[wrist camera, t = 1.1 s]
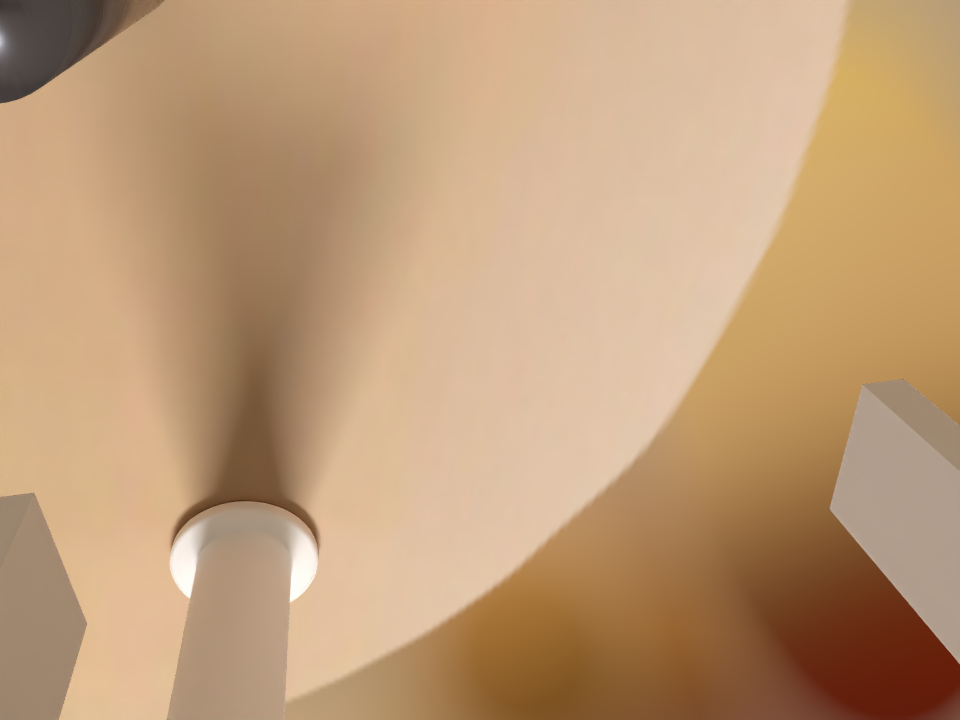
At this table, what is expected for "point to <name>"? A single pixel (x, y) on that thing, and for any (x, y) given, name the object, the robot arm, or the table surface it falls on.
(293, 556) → the candle
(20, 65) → the steel pin
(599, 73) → the table surface
